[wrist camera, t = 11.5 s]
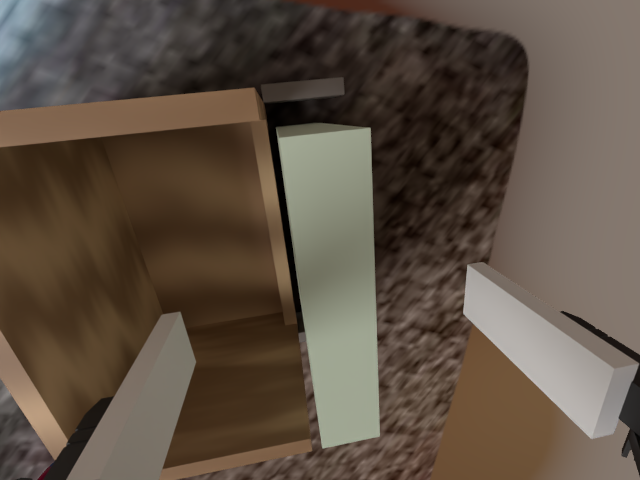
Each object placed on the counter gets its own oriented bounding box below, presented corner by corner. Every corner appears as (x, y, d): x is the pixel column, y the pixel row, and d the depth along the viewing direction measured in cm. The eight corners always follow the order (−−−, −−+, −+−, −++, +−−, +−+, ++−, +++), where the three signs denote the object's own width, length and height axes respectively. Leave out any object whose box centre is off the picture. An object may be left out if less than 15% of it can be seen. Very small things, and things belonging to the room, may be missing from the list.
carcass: (350, 312, 30) (402, 443, 18) (167, 343, 28) (88, 510, 16) (334, 82, 22) (408, 39, 10) (81, 105, 20) (-193, 87, 8)
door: (344, 291, 29) (402, 431, 16) (300, 298, 28) (322, 448, 15) (331, 120, 23) (405, 123, 10) (275, 126, 23) (279, 137, 10)
